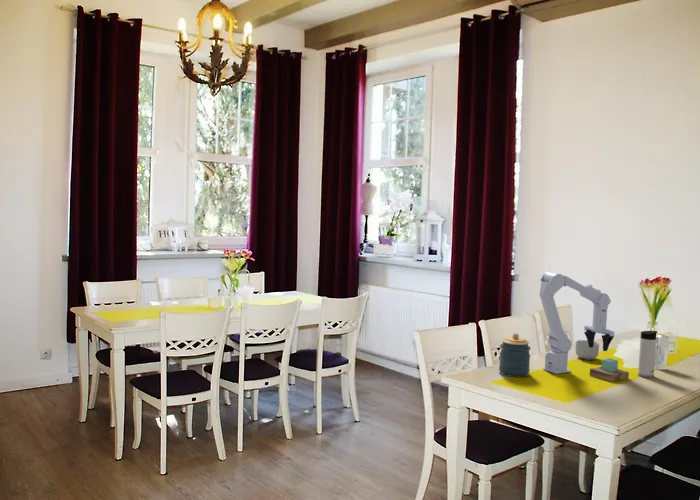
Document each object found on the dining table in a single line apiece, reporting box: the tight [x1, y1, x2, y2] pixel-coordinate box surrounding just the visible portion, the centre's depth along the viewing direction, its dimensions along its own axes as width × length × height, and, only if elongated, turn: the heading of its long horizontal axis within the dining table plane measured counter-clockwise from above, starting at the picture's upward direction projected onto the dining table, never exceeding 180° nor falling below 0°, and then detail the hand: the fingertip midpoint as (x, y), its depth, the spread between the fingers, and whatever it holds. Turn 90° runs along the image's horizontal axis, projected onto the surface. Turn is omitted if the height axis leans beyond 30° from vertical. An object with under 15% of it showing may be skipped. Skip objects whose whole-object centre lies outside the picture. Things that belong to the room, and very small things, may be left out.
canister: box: [498, 333, 531, 377], centre depth 276 cm, size 13×13×18 cm
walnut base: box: [589, 366, 630, 383], centre depth 275 cm, size 11×11×3 cm
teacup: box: [575, 339, 600, 361], centre depth 310 cm, size 14×11×8 cm
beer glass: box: [654, 334, 670, 371], centre depth 292 cm, size 7×7×15 cm
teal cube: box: [601, 358, 619, 372], centre depth 274 cm, size 4×4×4 cm
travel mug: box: [637, 330, 658, 379], centre depth 277 cm, size 6×7×20 cm
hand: (598, 349), depth 287 cm, fingers open, 7 cm apart
